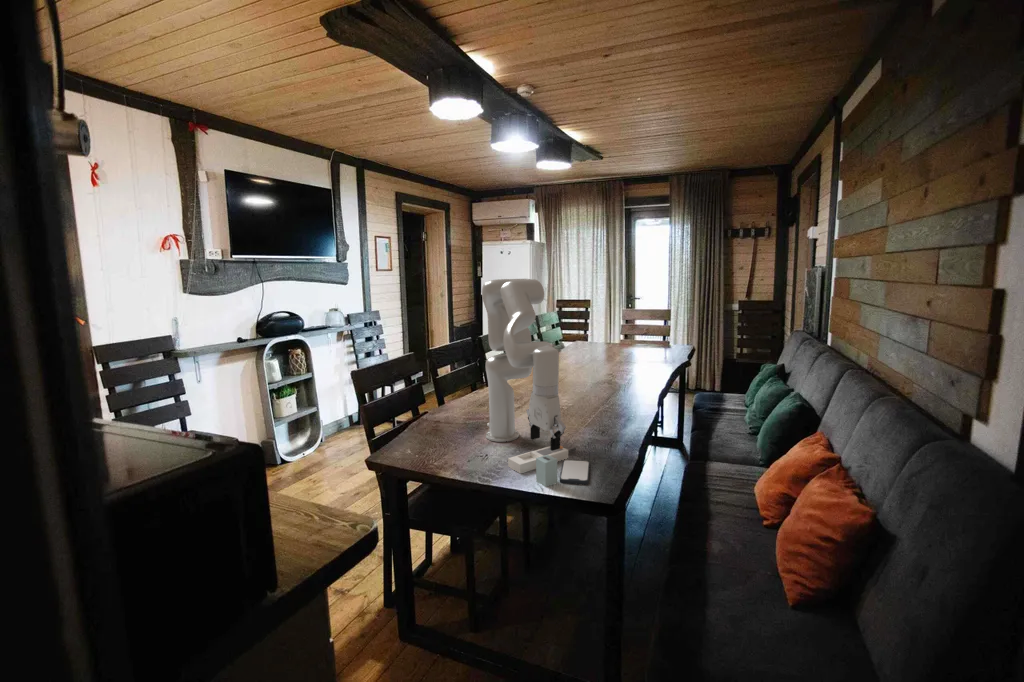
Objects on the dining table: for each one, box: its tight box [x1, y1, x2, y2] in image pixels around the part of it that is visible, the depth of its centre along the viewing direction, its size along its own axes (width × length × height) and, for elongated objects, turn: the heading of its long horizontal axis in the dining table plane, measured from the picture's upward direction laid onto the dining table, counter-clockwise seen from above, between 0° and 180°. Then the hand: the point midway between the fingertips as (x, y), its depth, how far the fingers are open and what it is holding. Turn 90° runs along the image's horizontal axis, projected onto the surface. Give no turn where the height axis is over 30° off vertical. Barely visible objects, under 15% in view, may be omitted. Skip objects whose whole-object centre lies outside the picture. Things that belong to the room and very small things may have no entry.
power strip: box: [507, 444, 577, 474], centre depth 166 cm, size 6×26×4 cm, turn 124°
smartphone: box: [559, 459, 591, 486], centre depth 157 cm, size 9×2×16 cm
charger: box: [535, 455, 558, 488], centre depth 150 cm, size 4×4×8 cm
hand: (544, 443), depth 150 cm, fingers open, 9 cm apart
